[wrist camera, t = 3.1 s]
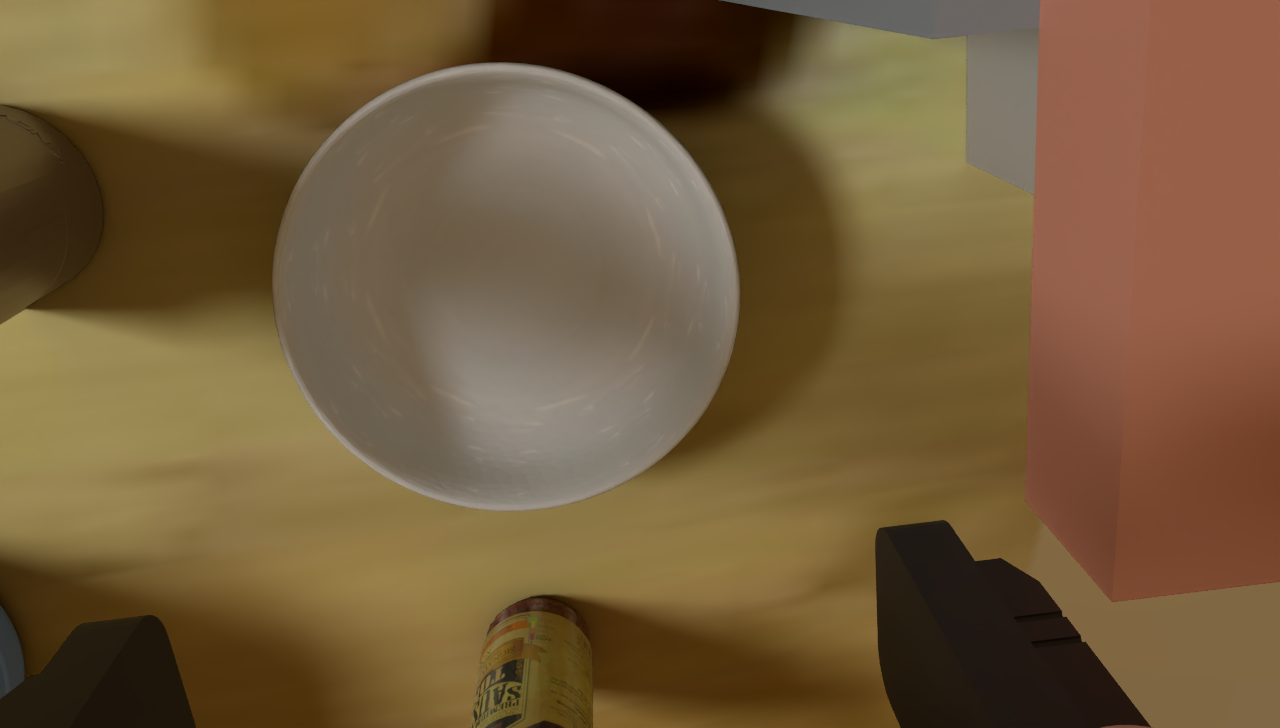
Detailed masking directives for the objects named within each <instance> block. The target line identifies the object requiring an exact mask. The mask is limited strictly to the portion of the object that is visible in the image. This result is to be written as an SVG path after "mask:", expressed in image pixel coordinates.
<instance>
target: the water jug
mask: <svg viewBox="0 0 1280 728" xmlns="http://www.w3.org/2000/svg"><path fill="white" fill-rule="evenodd" d="M24 678H25V668H24V658H23V653H22V648H21V645H20V641H19V638H18V636H17V633H16V631H15V629H14V626H13V624H12V622H11V621H10V619H9V617H8V615H7V614H6V612H5V611H4V609H3V608H2V606H1V605H0V699H1V698H2V697H3V696H5V695H6V694H7V693H9V692H10V691H11V690H13V689H14V688H15V687H16V686H18V685H19V684H20V683H22V682H23V681H24Z"/></svg>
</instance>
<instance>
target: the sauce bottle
mask: <svg viewBox="0 0 1280 728" xmlns="http://www.w3.org/2000/svg"><path fill="white" fill-rule="evenodd" d="M470 728H593V671H592V650H591V645H590V643H589V636H588V633H587V627H586V625H585V623H584V621H583V619H582V618H581V617H580V616H579V615H578V613H577V612H576V611H575V610H573V609H571V608H570V607H569V606H567V605H566V604H564V603H560V602H559V601H556V600H552V599H548V598H541V597H537V598H529V599H524V600H521V601H518V602H516V603H514V604H513V605H511V606H509V607H508V608H506V609H505V610H503V611H502V612H501V613H500V614H499V615H497V616H496V618H495V620H494V621H493V623H492V624H491V625H490V627H489V631H488V633H487V637H486V639H485V641H484V644H483V646H482V651H481V658H480V664H479V671H478V678H477V685H476V691H475V699H474V706H473V713H472V719H471V727H470Z"/></svg>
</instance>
